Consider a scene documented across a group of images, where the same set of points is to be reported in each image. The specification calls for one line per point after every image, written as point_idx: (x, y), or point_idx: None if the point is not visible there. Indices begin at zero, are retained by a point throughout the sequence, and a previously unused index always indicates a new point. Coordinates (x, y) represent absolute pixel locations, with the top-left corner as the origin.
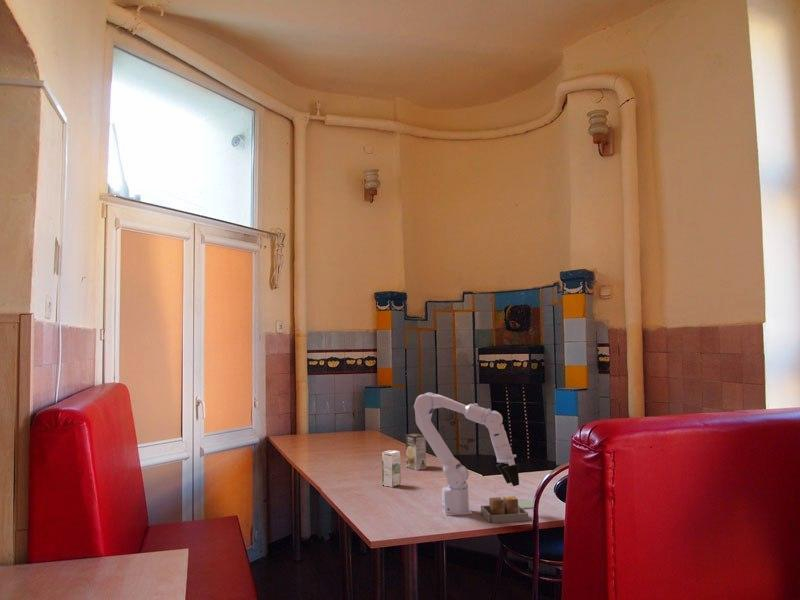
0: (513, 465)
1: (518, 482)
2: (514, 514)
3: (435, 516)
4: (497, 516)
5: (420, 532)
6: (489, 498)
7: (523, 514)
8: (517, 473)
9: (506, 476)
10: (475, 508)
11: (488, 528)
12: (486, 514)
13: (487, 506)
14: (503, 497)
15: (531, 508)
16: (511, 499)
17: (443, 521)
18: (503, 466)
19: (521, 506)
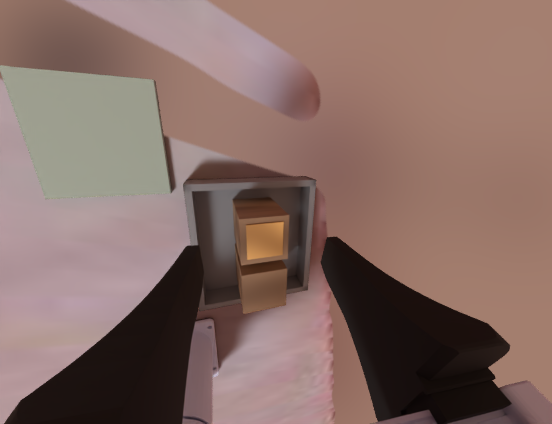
0: (480, 376)
1: (344, 245)
2: (312, 223)
3: (216, 389)
4: (307, 269)
5: (316, 389)
6: (246, 312)
7: (313, 195)
8: (395, 285)
9: (193, 307)
10: None
11: None
12: None
13: (203, 291)
14: (245, 264)
15: (159, 112)
16: (284, 239)
17: (259, 368)
18: (171, 412)
19: (141, 152)
